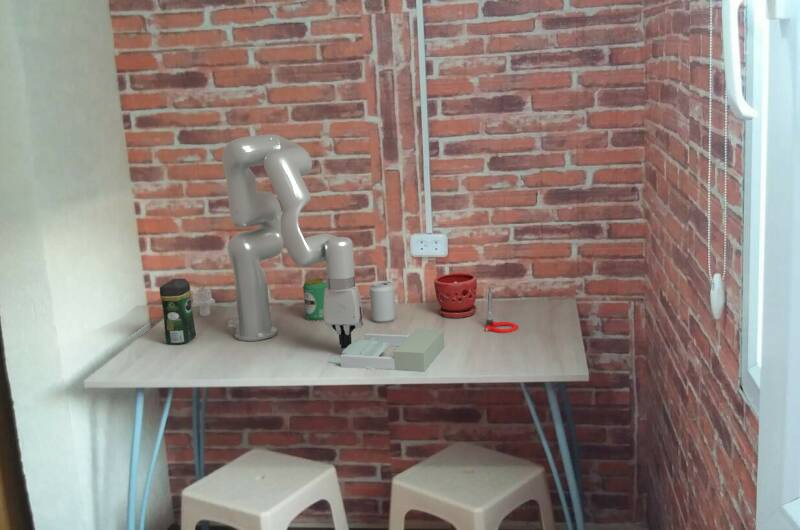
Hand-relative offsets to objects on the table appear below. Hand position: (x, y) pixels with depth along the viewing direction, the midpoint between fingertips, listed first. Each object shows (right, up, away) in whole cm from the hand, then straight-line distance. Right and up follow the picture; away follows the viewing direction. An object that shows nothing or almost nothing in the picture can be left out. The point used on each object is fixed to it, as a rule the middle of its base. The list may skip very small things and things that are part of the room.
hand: (345, 347), depth 250 cm
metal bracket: (+5, -4, -4) cm, 7 cm away
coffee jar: (-51, 0, +22) cm, 55 cm away
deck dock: (+13, -2, -4) cm, 14 cm away
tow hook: (+45, +4, +16) cm, 48 cm away
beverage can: (-11, +6, +38) cm, 40 cm away
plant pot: (+33, +7, +33) cm, 47 cm away
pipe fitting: (-49, +6, +49) cm, 70 cm away
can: (+10, +5, +31) cm, 33 cm away
